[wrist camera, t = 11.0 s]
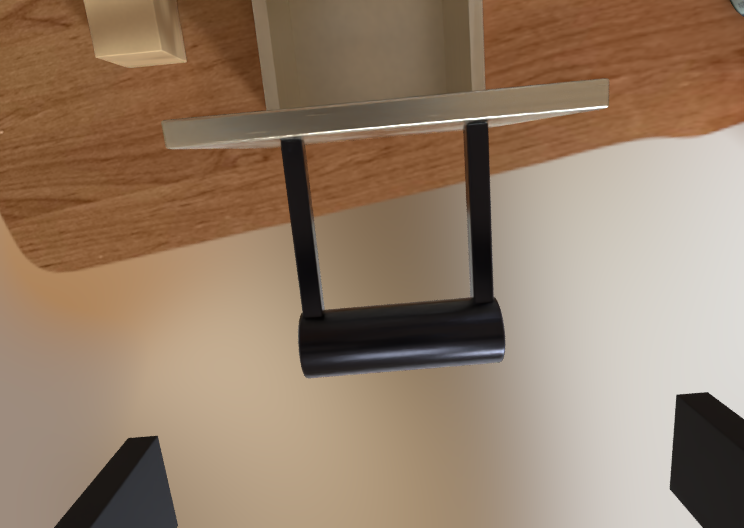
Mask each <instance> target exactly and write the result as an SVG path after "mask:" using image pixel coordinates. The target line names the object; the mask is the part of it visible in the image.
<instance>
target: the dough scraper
mask: <svg viewBox="0 0 744 528" xmlns="http://www.w3.org/2000/svg"><path fill="white" fill-rule="evenodd" d="M608 105H609V79H607V78H603V79H593V80H582V81H572V82H561V83H551V84H540V85H530V86H519V87H508V88H498V89H487V90H477V91H466V92H456V93H445V94H435V95H424V96H414V97H403V98H392V99H382V100H371V101H361V102H350V103H340V104H329V105H319V106H308V107H298V108H287V109H276V110H266V111H255V112H245V113H234V114H224V115H213V116H203V117H192V118H182V119H171V120H164V121H162V129H163V134H164V140H165V145H166V148H168V149H235V148H278V147H281V151H282V159H283V166H284V174H285V182H286V189H287V197H288V204H289V212H290V220H291V227H292V235H293V242H294V250H295V258H296V265H297V272H298V281H299V288H300V296H301V304H302V311H303V312H302V313H301V316H300V320H299V329H298V344H299V356H300V362H301V367H302V371H303V373H304V376H305V377H306V378H318V377H329V376H342V375H355V374H367V373H379V372H391V371H402V370H415V369H427V368H438V367H439V368H440V367H451V366H464V365H475V364H488V363H499V362H501V361H502V360H503V358H504V353H505V331H504V323H503V318H502V313H501V309H500V306H499V304H498V302H497V300H496V298H495V297H494V296H493V263H492V231H491V201H490V168H489V136H488V128H491V127H497V126H503V125H509V124H515V123H521V122H527V121H533V120H539V119H545V118H551V117H557V116H563V115H569V114H575V113H581V112H587V111H593V110H599V109H605V108H607V107H608ZM461 130H463V134H464V157H465V180H466V201H467V202H466V203H467V223H468V224H467V226H468V248H469V271H470V294H471V297H470V298H458V299H446V300H434V301H423V302H411V303H400V304H387V305H376V306H364V307H353V308H340V309H329V310H325V309H324V302H323V293H322V284H321V276H320V268H319V259H318V251H317V243H316V234H315V226H314V217H313V209H312V201H311V192H310V184H309V175H308V167H307V159H306V150H305V145H311V144H321V143H332V142H343V141H354V140H364V139H375V138H386V137H397V136H407V135H418V134H429V133H440V132H450V131H461Z"/></svg>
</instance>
